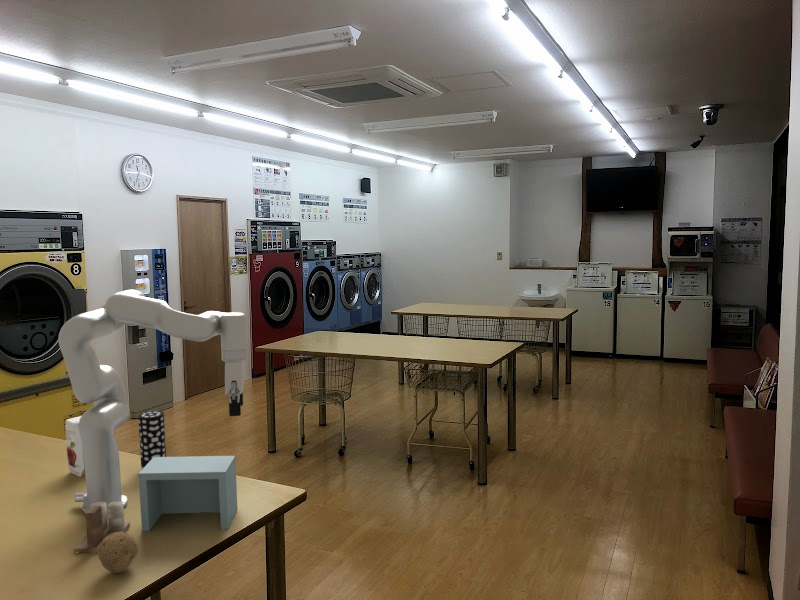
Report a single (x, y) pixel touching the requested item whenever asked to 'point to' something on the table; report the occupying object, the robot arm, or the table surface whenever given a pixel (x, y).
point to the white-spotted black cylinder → (151, 436)
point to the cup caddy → (102, 525)
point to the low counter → (188, 487)
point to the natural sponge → (117, 551)
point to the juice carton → (74, 447)
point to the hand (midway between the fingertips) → (236, 410)
